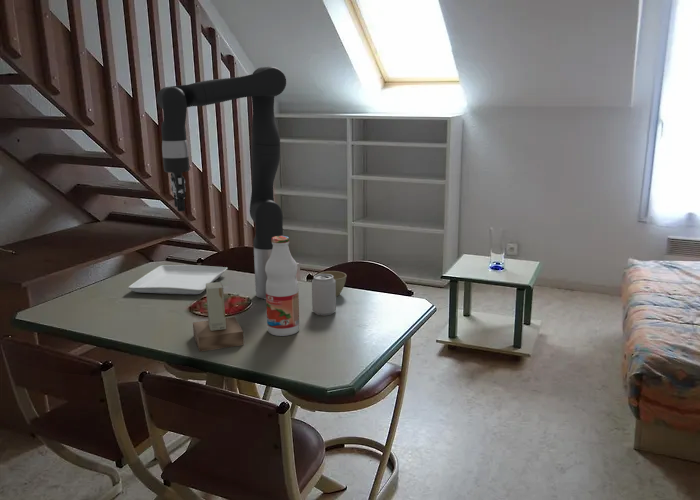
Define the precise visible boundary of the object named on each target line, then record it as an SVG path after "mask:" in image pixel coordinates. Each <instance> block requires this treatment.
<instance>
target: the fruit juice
mask: <svg viewBox="0 0 700 500" xmlns="http://www.w3.org/2000/svg"><path fill="white" fill-rule="evenodd" d="M272 244H273V248H272V252H271V256H270V258H269V260H268V261H267V263H266V266H265V271H266V275H267V281H266V299H265V301H266V302H265V303H266V327H267V332H268V333H269V334H271V335H273V336H277V337H287V336H292V335H295V334H297V333H298V332H299V331H300V327H301V326H300V298H299V297H300V295H299V294H300V293H299V282H298V279H297V273H298V263H297V262H296V260H295V258H293V256H292V254H291V251H290V247H289V244H290V237H289V236H285V235H283V236H275V237H272Z"/></svg>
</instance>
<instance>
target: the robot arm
mask: <svg viewBox="0 0 700 500" xmlns="http://www.w3.org/2000/svg"><path fill="white" fill-rule="evenodd" d="M286 86H287V78H286V75H285V73H284V72H283V71H282V70H281V69H279V68H278V67H275V66H261V67H258V68H256V69H255V70H253V72H252V73H251V74H247V75H243V76H236V77H228V78H227V77H226V78H225V77H224V78H217V79H215V78H214V79H209V80H202V81H198V82H194V83H193V82H192V83H190V84H181V85H172V86H165V87H162V88H161V89H160V90H159V91H158V92H157V94H156V102H157V105H158V106H159V108H160V109H161V110H163V111H162V112H163V114H162V115H163V117H162V118H163V121H162V122H161V127H160V128H161V140H162V141H161V142H162V143H161V152H162V163H163V171H164V172H165V173H169V174H170V176H171V177H170V178H169V179H170V180H169V181H170V187H171V191H172V195H173V203H174V206H175V208H177V211H178V212H179V213H180V212H185V211H186V203H185V199H186V196H187V194H186V179H185V177H184V176H183V173H186V172H189V171H190V156H189V155H190V154H189V145H188V139H187V130H186V129H187V128H186V127H187V126H186V121H187V120H186V119H187V109H188V108H191V107H206V106H209V105H215V104H220V103H224V102H229V101H233V100H238V99H242V98H249V97H251V109H252V121H251V123H252V125H251V127H252V128H251V176H252V178H251V180H252V183H251V184H252V185H251V195H250V204H249V215H250V218H251V220H252V221H253V222H254V224H255V236H254V238H253V240H252V241H253V244H252V245H253V256H254V257H253V260H254V263H253V264H254V279H255V280H254V283H255V284H254V285H255V286H254V287H255V297H257V298H259V299H264V300H266V281H267V275H266V271H265V266H266V263H267V261H268V260H269V258H270V256H271V252H272V248H273V244H272V237H275V236H284V235H283V230H284V229H283V227H284V225H283V223H284V220H283V211H282V208H281V206H280V205H279V204H278V203H277V202H275V195H274V187H275V186H274V185H275V179H276V175H277V172H278V169H279V164H280V158H281V136H280V131H279V128H278V124H277V121H276V116H275V109H274V108H275V97H277V96H279V95H281V94H282V93H283V92H284V90H285V89H286Z"/></svg>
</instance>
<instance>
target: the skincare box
mask: <svg viewBox="0 0 700 500" xmlns="http://www.w3.org/2000/svg"><path fill="white" fill-rule="evenodd" d="M205 291H206V293H205V294H206V305H207V319H208V320H207V321H209V327H210V330H211V331H214V330H222V329H226V321H225V318H226V310H225V307H226V306H225V297H224V296H225V294H224V292H225V291H224V285H223V284H222V281H216V282H214V281H213V282H212V283H206V289H205Z"/></svg>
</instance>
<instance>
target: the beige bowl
mask: <svg viewBox="0 0 700 500" xmlns="http://www.w3.org/2000/svg"><path fill="white" fill-rule="evenodd" d="M318 274H331V275H333V278H334V279H335V281H336V298H337V297H339V296H340V294H341V293H342V291H343V290H344V286H345V284H346V281H347V274H346V273H345V272H342V271H338V270H337V271H336V270H326V271H322V272H319V273H317V274H316V275H318Z"/></svg>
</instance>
